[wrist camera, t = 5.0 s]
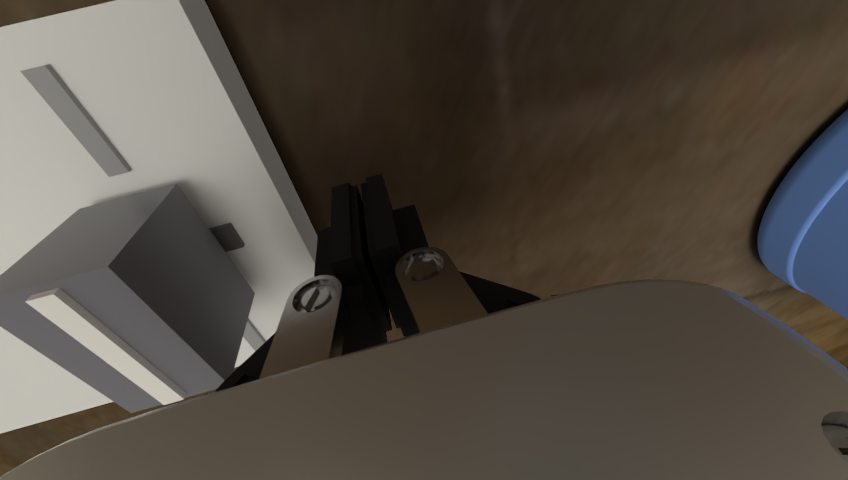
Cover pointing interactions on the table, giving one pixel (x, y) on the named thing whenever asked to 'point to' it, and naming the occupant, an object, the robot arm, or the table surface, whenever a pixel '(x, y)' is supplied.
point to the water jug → (812, 221)
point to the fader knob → (132, 300)
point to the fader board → (136, 161)
